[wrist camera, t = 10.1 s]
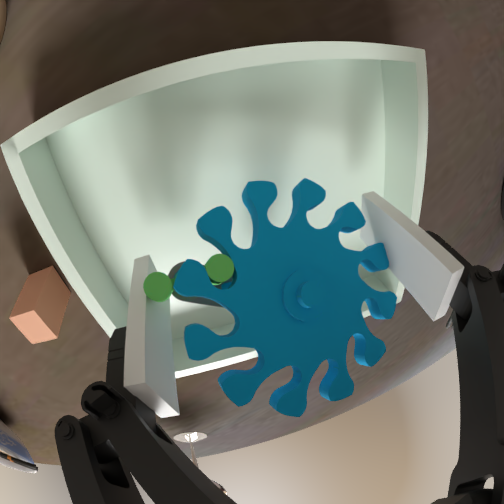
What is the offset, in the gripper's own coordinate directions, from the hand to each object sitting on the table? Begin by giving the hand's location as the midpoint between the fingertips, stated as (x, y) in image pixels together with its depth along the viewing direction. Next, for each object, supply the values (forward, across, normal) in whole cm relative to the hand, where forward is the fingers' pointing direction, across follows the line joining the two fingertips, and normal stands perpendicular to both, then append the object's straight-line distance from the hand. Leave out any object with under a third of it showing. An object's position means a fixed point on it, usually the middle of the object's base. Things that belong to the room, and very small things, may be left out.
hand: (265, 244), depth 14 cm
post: (+3, +14, 0) cm, 15 cm away
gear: (+1, 0, 0) cm, 1 cm away
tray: (+3, 0, 0) cm, 3 cm away
